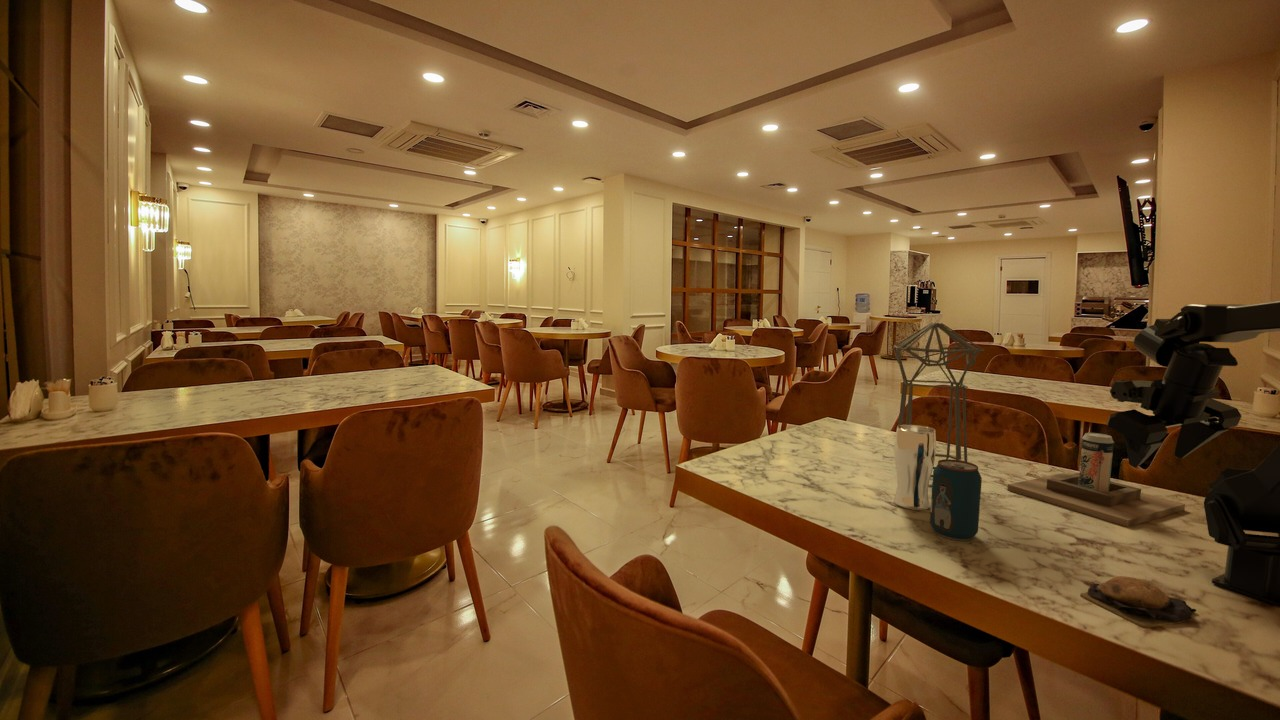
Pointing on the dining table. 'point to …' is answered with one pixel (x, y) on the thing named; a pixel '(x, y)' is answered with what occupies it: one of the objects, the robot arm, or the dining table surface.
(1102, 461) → the beer can
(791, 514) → the dining table surface
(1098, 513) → the brown square frame
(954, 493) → the soda can
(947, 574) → the dining table surface
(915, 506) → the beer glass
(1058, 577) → the dining table surface
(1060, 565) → the dining table surface
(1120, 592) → the bread roll
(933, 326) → the geometric lantern
